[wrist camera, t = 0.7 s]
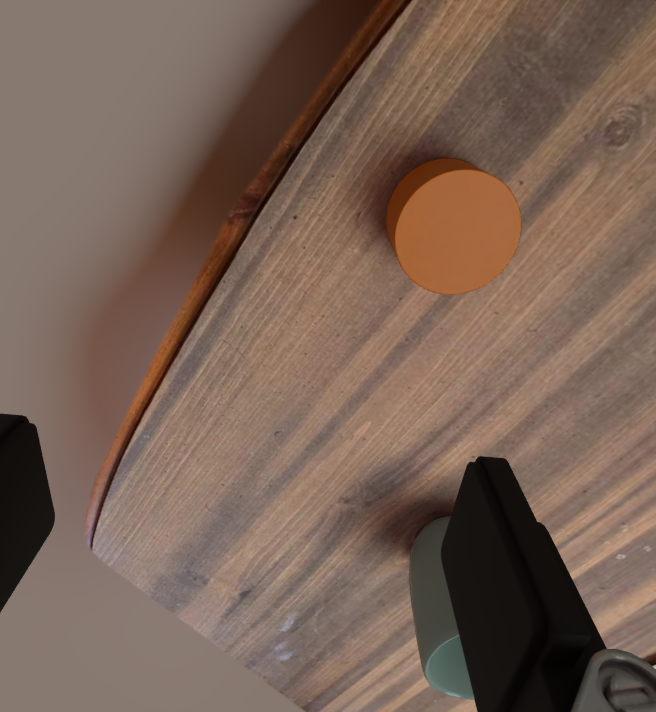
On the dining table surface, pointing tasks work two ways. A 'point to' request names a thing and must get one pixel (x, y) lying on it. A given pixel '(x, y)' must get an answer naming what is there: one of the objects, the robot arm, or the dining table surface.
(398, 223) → the cylinder
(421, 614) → the cup
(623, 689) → the robot arm
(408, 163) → the dining table surface
